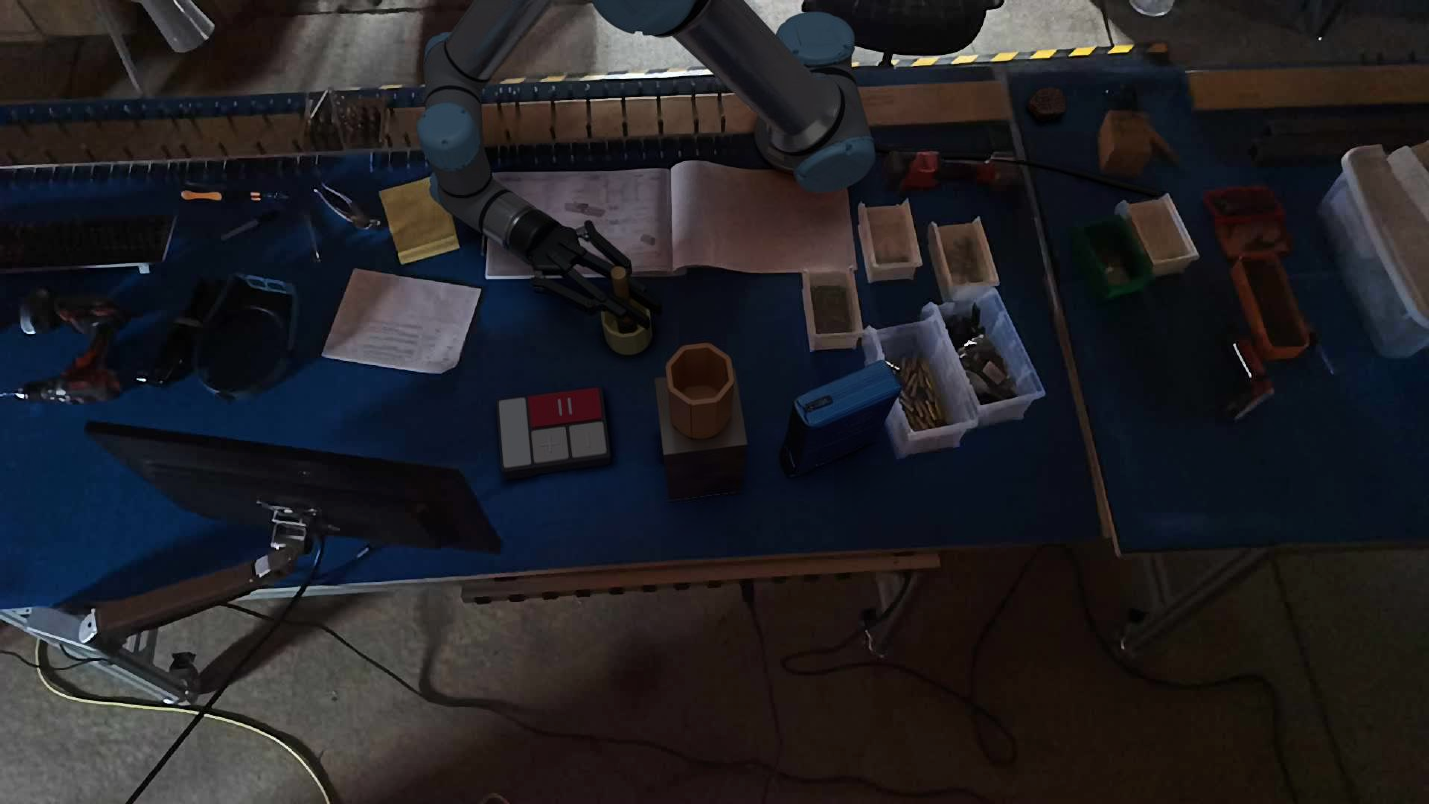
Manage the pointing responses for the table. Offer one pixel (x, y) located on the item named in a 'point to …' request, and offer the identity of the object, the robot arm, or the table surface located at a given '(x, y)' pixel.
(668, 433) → the stand
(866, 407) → the book
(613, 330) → the rinse cup
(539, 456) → the button panel
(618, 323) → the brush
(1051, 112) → the stone
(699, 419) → the octagonal pencil cup
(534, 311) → the table surface
